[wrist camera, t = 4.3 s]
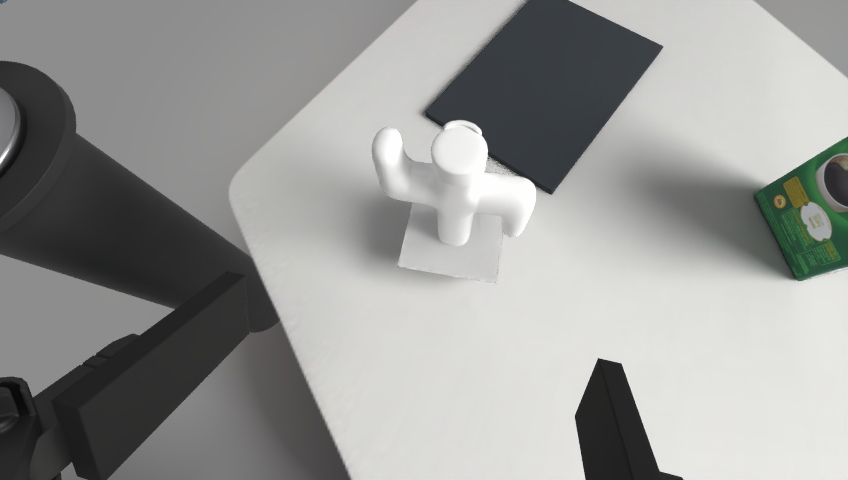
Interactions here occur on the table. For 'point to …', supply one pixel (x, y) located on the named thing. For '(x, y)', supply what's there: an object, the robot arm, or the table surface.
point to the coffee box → (811, 213)
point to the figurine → (453, 202)
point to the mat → (546, 87)
